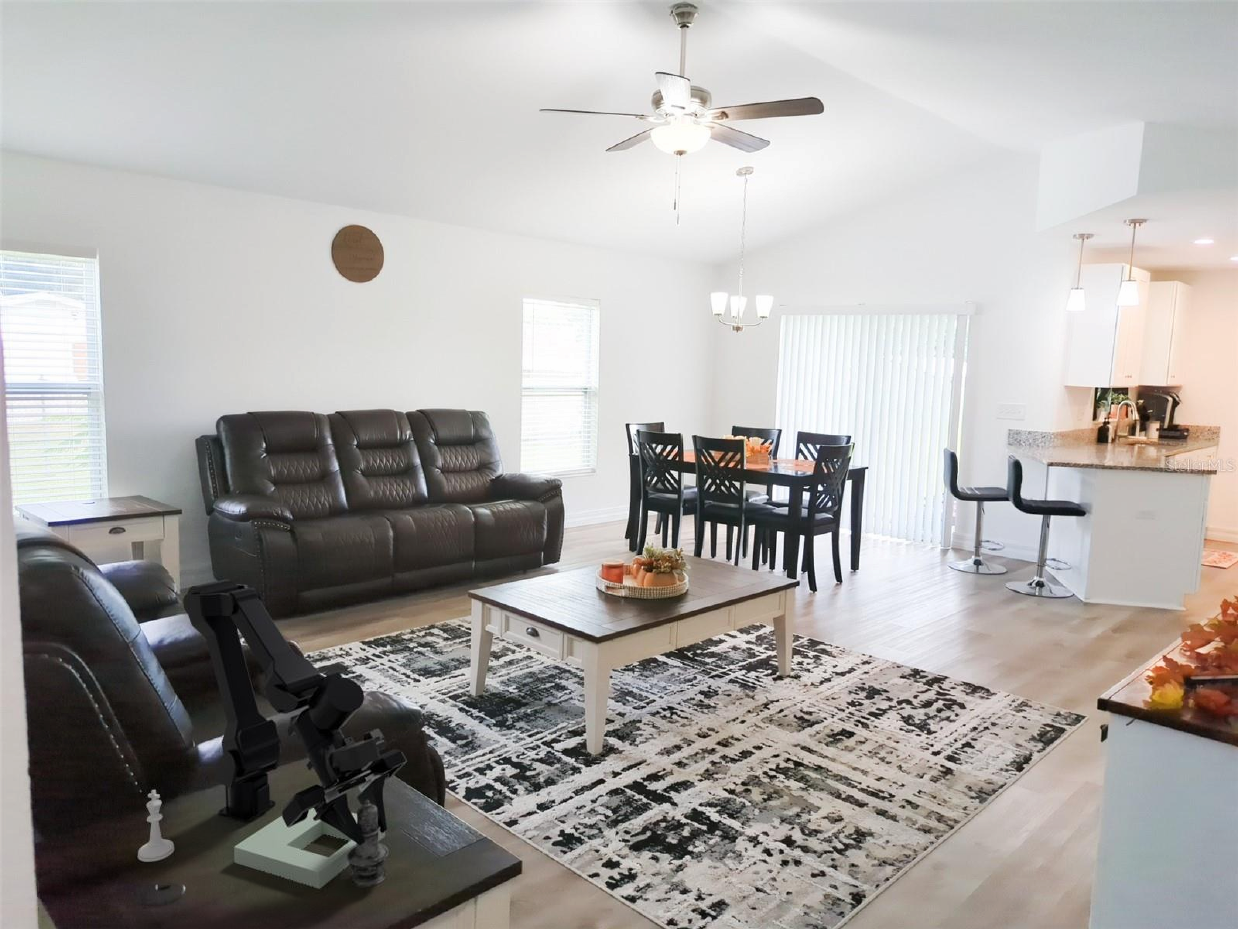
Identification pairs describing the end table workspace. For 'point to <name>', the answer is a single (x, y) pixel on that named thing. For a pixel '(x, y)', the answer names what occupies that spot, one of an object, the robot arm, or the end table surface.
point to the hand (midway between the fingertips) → (373, 837)
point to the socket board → (295, 851)
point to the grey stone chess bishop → (368, 850)
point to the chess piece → (155, 834)
